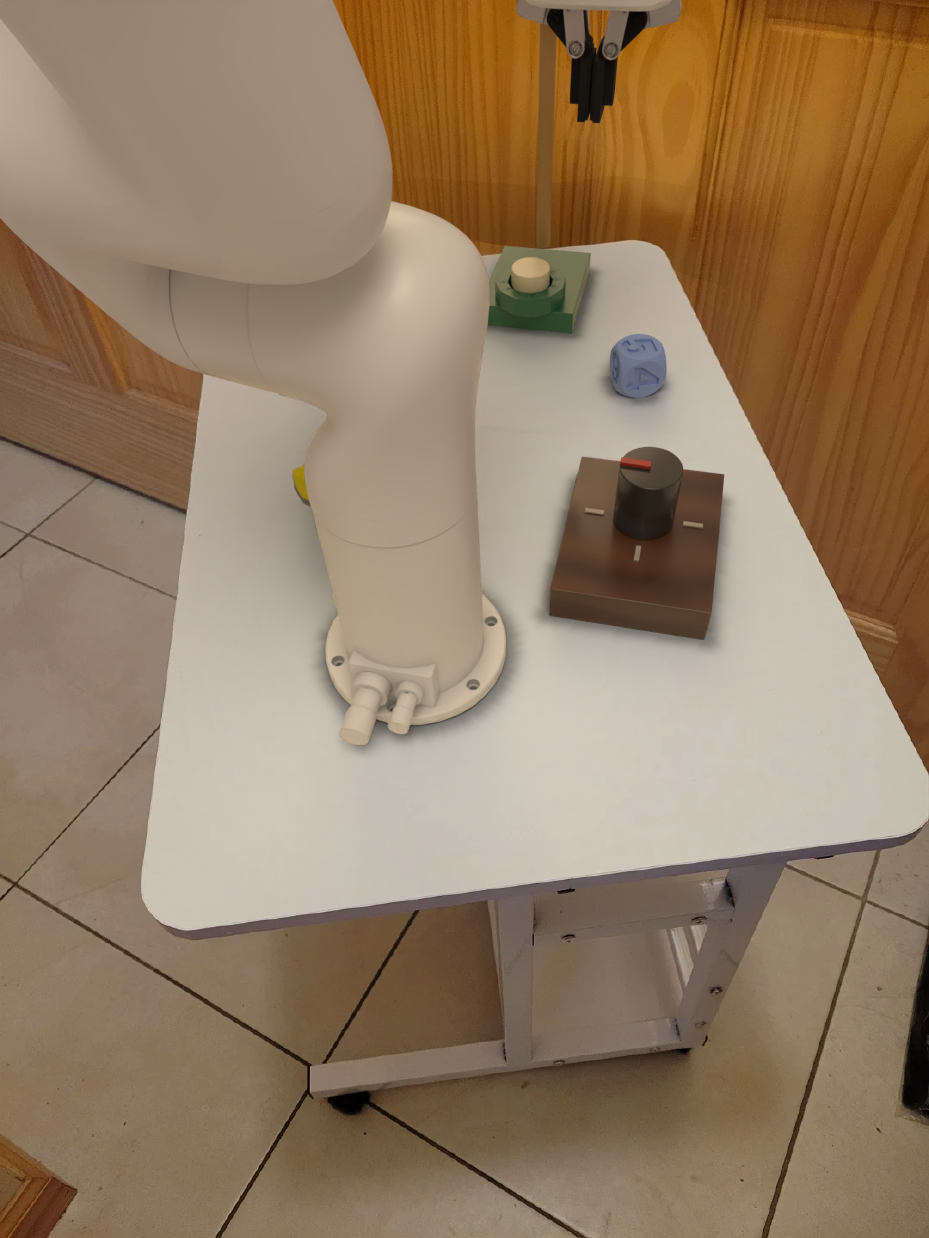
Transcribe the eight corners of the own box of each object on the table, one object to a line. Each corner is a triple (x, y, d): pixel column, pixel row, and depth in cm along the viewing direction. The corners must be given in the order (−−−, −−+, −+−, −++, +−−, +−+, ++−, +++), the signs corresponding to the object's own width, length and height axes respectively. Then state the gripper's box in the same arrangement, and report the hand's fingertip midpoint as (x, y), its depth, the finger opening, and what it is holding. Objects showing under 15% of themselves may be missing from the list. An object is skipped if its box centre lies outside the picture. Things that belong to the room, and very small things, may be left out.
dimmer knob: (677, 502, 67) (688, 447, 63) (669, 544, 64) (680, 490, 60) (618, 493, 68) (625, 438, 63) (608, 534, 65) (614, 480, 61)
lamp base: (569, 341, 85) (572, 304, 82) (477, 332, 87) (476, 295, 84) (589, 273, 92) (592, 235, 89) (504, 265, 94) (503, 228, 91)
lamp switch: (545, 296, 84) (546, 279, 82) (507, 292, 84) (507, 275, 83) (552, 275, 86) (553, 258, 84) (515, 272, 86) (515, 255, 85)
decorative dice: (663, 395, 79) (669, 357, 76) (619, 401, 79) (623, 363, 76) (650, 368, 82) (656, 330, 79) (607, 374, 82) (611, 336, 79)
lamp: (567, 258, 87) (583, -62, 67) (511, 253, 88) (509, -63, 68) (576, 229, 90) (594, -84, 70) (522, 224, 91) (524, -85, 71)
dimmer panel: (704, 640, 62) (712, 611, 60) (548, 615, 64) (550, 587, 62) (717, 502, 71) (725, 472, 68) (579, 484, 73) (581, 454, 70)
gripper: (468, -227, 48) (477, 131, 63) (752, -230, 46) (694, 144, 60) (496, -248, 53) (498, 90, 67) (755, -252, 51) (701, 100, 65)
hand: (591, 114), depth 64 cm, fingers closed
